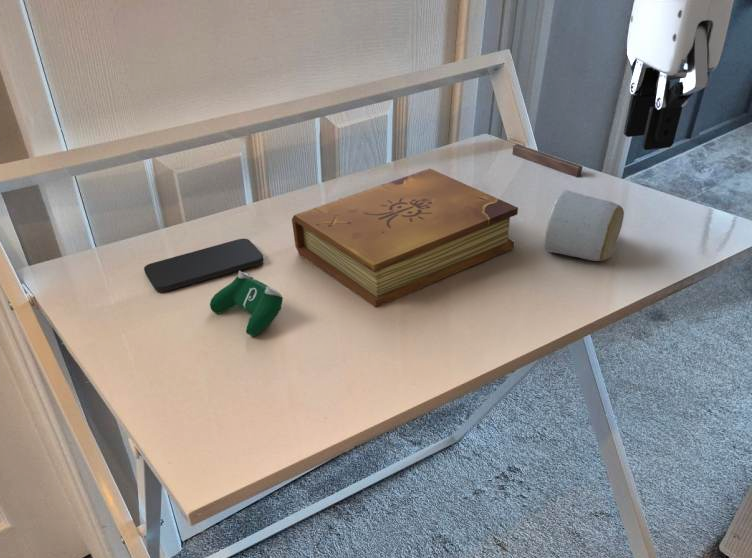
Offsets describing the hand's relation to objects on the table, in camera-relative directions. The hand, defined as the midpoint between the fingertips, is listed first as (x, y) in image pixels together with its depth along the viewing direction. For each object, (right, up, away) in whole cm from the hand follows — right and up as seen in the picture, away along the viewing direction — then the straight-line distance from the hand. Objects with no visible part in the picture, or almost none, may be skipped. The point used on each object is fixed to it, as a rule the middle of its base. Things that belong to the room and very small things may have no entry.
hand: (647, 139), depth 71 cm
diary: (-25, -5, +21) cm, 33 cm away
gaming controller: (-44, -17, +11) cm, 48 cm away
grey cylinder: (-1, -6, +19) cm, 20 cm away
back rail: (0, +15, +41) cm, 44 cm away
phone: (-51, -8, +20) cm, 56 cm away
